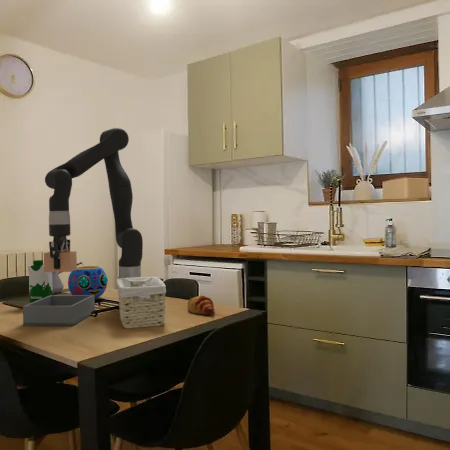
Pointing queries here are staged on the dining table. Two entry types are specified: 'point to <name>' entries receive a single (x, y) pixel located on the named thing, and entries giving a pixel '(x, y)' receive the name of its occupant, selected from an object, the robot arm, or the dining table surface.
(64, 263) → the small crate
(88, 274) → the ceramic pot
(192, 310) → the croissant
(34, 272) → the milk carton
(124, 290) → the storage basket
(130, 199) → the robot arm
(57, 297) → the big crate
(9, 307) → the dining table surface
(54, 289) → the coffee pot
